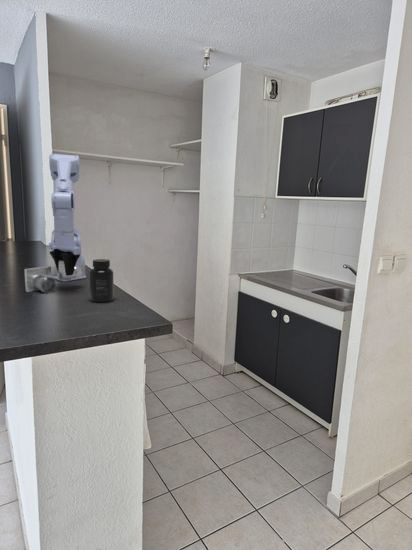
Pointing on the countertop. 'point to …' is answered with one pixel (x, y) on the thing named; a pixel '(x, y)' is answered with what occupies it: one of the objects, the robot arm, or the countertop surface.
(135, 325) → the countertop surface
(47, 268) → the duct stub
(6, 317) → the countertop surface
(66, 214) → the robot arm
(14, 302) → the countertop surface
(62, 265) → the elbow
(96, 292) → the supplement bottle
